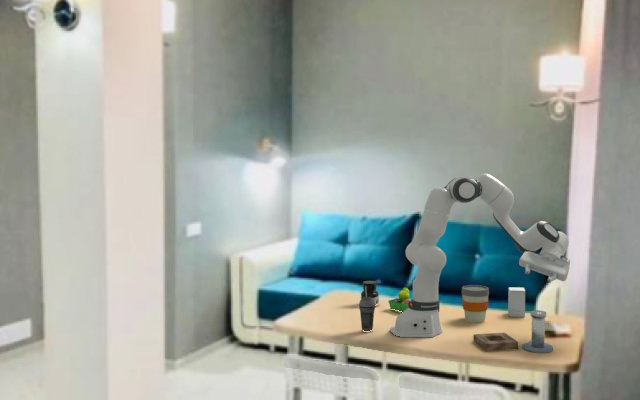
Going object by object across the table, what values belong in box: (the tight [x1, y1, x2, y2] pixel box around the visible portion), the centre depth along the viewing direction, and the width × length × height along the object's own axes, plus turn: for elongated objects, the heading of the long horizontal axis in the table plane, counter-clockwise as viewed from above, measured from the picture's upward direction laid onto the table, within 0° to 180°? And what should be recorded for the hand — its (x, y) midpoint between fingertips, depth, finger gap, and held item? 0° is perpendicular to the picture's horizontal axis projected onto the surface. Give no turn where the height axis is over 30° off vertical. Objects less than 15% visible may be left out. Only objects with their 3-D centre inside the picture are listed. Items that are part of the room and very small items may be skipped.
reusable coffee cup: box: [461, 284, 490, 323], centre depth 328 cm, size 12×12×15 cm
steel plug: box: [530, 309, 547, 348], centre depth 284 cm, size 6×6×14 cm
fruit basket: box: [387, 287, 410, 312], centre depth 346 cm, size 11×9×11 cm
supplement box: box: [507, 286, 526, 318], centre depth 335 cm, size 7×7×13 cm
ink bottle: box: [360, 280, 380, 305], centre depth 357 cm, size 10×9×12 cm
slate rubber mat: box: [521, 341, 554, 354], centre depth 285 cm, size 12×12×1 cm
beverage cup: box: [358, 286, 376, 331], centre depth 311 cm, size 7×7×20 cm
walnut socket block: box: [472, 332, 519, 352], centre depth 289 cm, size 14×14×3 cm
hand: (537, 277), depth 293 cm, fingers open, 8 cm apart
